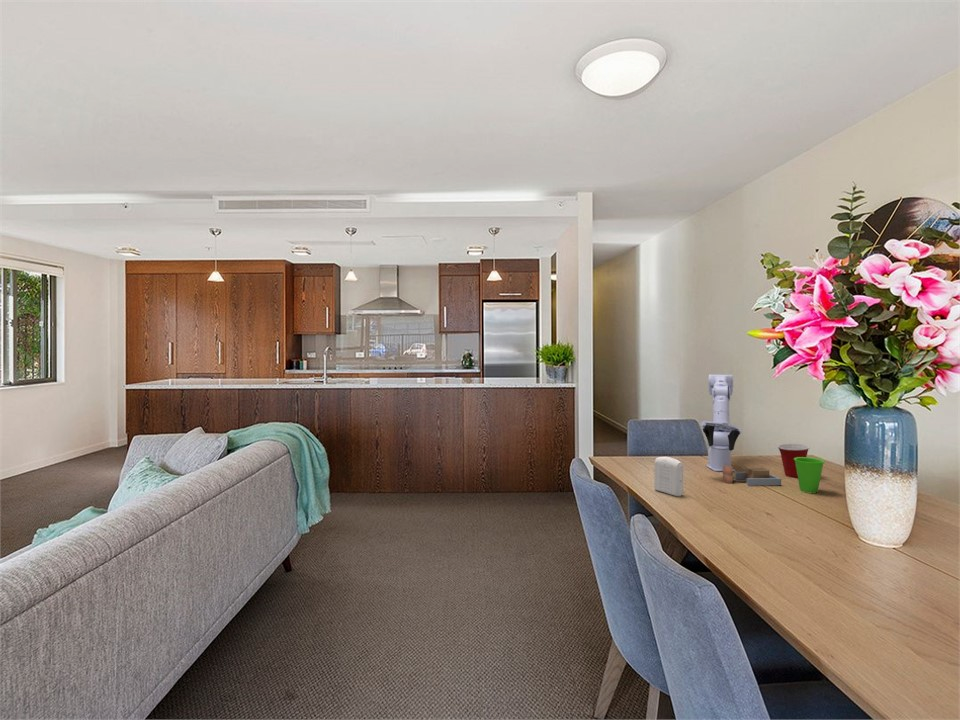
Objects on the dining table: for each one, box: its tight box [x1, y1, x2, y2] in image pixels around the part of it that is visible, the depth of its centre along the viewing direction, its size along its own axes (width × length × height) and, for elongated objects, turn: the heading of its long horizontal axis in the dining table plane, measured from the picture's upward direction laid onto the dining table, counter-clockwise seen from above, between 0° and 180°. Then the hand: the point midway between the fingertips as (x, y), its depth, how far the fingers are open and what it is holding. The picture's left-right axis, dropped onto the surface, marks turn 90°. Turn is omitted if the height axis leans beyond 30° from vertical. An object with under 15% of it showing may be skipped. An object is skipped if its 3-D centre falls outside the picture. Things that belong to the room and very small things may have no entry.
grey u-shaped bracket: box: [734, 471, 782, 487], centre depth 189 cm, size 10×12×2 cm
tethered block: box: [722, 465, 770, 484], centre depth 189 cm, size 5×16×6 cm, turn 89°
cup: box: [794, 457, 826, 494], centre depth 177 cm, size 9×9×11 cm
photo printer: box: [654, 456, 684, 497], centre depth 177 cm, size 10×4×12 cm, turn 31°
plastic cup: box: [777, 443, 810, 479], centre depth 197 cm, size 11×11×12 cm
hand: (721, 447), depth 191 cm, fingers open, 7 cm apart
